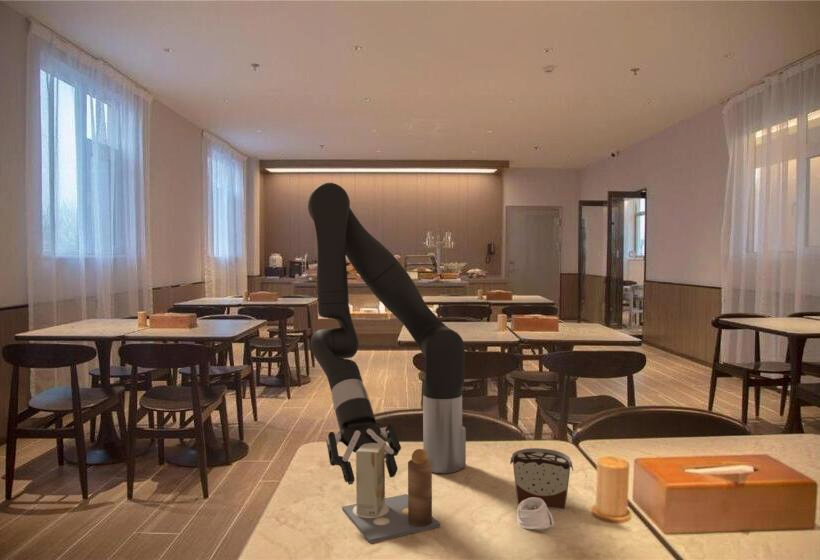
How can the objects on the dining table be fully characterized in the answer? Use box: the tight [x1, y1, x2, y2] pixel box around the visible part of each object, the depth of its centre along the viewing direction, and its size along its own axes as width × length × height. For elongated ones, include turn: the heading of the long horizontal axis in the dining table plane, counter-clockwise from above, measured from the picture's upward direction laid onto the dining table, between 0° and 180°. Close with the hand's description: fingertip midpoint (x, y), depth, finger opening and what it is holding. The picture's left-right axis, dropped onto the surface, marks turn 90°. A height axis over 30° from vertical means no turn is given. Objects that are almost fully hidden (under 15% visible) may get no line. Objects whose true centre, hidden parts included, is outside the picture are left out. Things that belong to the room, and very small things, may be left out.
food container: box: [509, 447, 574, 511], centre depth 117 cm, size 12×6×10 cm, turn 71°
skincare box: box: [355, 443, 386, 516], centre depth 112 cm, size 6×4×12 cm
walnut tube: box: [407, 448, 433, 527], centre depth 107 cm, size 4×4×14 cm
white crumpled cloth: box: [516, 497, 555, 530], centre depth 107 cm, size 8×7×5 cm
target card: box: [341, 493, 442, 544], centre depth 110 cm, size 14×15×1 cm
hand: (373, 479), depth 111 cm, fingers open, 8 cm apart
